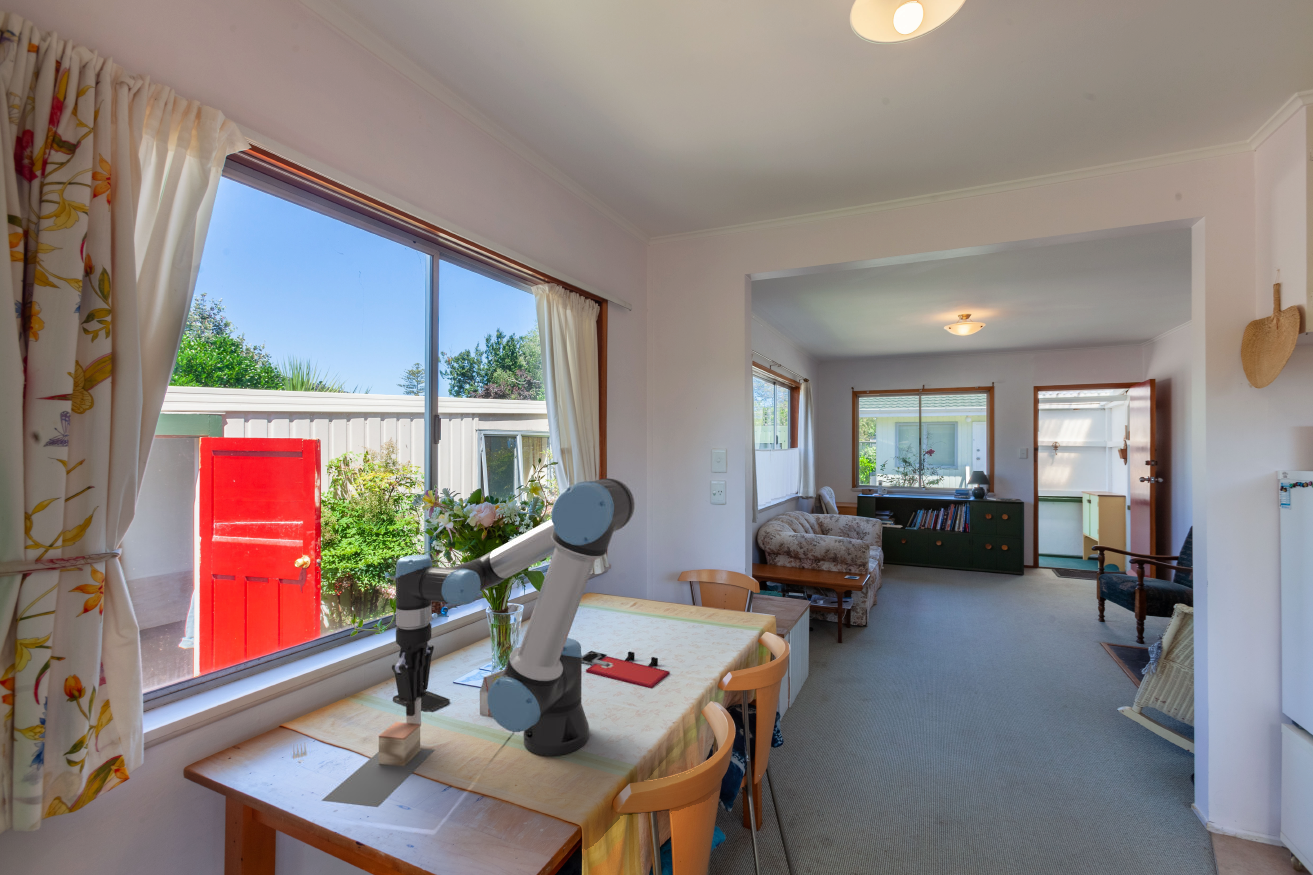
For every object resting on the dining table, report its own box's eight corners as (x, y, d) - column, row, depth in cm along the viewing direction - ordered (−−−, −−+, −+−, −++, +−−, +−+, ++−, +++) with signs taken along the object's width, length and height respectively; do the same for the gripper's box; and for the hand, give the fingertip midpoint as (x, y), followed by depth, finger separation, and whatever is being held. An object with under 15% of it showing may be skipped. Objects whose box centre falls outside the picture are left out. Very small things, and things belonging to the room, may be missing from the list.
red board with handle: (594, 651, 188) (566, 668, 175) (594, 643, 188) (566, 659, 175) (675, 671, 174) (651, 691, 161) (675, 661, 174) (651, 681, 161)
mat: (435, 752, 128) (435, 749, 128) (377, 809, 109) (377, 806, 109) (386, 747, 130) (386, 744, 130) (321, 803, 110) (321, 799, 110)
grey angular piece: (479, 714, 146) (479, 675, 146) (501, 704, 151) (501, 666, 151) (488, 718, 143) (488, 679, 143) (510, 708, 149) (510, 670, 149)
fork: (297, 789, 115) (297, 780, 115) (292, 754, 128) (292, 745, 128) (312, 785, 117) (312, 775, 117) (306, 750, 130) (305, 741, 130)
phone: (426, 711, 145) (390, 697, 153) (426, 716, 145) (390, 701, 153) (451, 699, 152) (416, 686, 160) (451, 703, 152) (416, 690, 160)
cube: (420, 750, 128) (420, 723, 128) (404, 765, 122) (404, 737, 122) (395, 748, 129) (395, 721, 129) (378, 763, 123) (378, 735, 123)
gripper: (415, 614, 138) (415, 711, 138) (380, 632, 125) (380, 740, 125) (444, 616, 136) (444, 714, 136) (411, 634, 123) (411, 743, 124)
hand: (413, 726), depth 131 cm, fingers closed
